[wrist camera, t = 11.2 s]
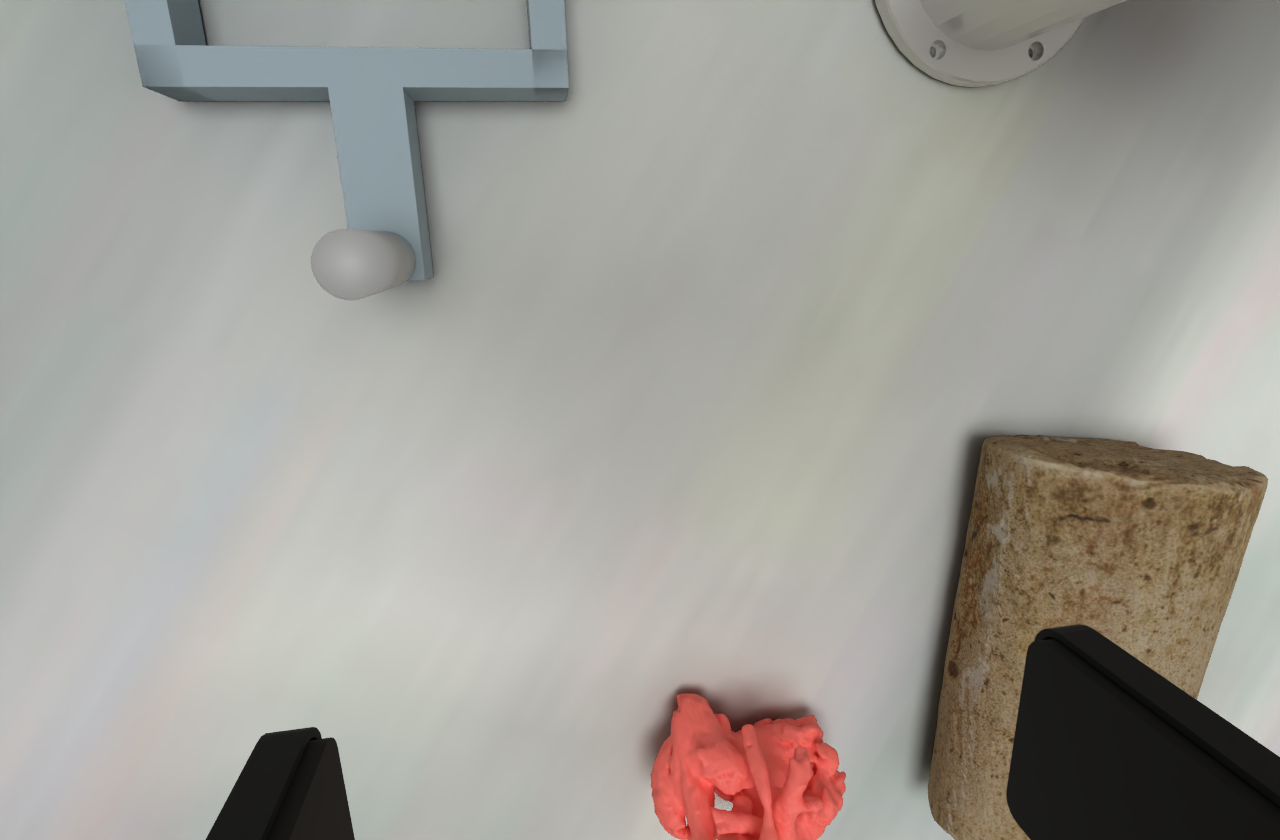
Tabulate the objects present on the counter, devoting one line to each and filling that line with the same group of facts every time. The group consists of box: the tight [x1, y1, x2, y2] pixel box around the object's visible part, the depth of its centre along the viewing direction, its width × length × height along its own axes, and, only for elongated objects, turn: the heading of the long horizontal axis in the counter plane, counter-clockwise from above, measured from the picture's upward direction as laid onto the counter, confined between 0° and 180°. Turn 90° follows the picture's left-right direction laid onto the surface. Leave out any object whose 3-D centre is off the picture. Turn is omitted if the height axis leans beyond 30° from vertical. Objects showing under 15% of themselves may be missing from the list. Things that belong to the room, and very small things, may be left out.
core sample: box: [928, 435, 1268, 840], centre depth 41 cm, size 14×26×10 cm, turn 179°
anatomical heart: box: [651, 693, 846, 840], centre depth 39 cm, size 9×12×12 cm
